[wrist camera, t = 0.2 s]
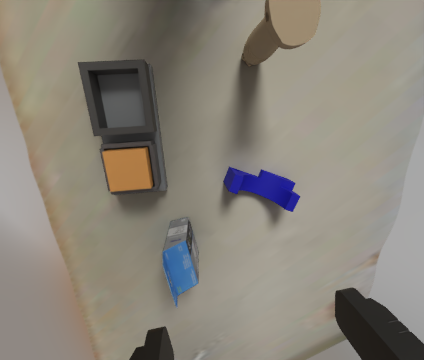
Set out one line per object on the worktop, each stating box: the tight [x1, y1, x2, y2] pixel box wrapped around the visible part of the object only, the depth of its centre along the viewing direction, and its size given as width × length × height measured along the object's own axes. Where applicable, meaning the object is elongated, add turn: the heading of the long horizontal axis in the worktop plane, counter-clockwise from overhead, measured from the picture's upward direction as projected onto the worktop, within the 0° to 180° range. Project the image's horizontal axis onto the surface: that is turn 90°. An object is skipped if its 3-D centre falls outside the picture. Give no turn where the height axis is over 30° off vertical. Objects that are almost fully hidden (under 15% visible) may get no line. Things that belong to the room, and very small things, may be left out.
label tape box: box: [162, 217, 199, 308], centre depth 35 cm, size 9×4×12 cm, turn 12°
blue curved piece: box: [223, 167, 300, 212], centre depth 37 cm, size 12×4×6 cm, turn 70°
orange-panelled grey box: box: [78, 60, 168, 195], centre depth 33 cm, size 20×9×5 cm, turn 4°
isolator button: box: [102, 147, 153, 192], centre depth 31 cm, size 6×6×2 cm
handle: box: [242, 0, 321, 66], centre depth 26 cm, size 5×6×15 cm
